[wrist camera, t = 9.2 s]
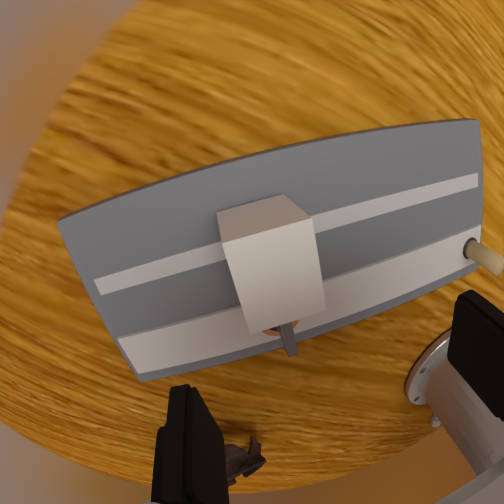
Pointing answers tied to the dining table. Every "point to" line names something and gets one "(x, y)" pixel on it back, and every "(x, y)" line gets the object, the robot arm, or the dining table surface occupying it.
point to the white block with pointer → (273, 264)
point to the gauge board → (325, 228)
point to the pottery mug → (242, 460)
